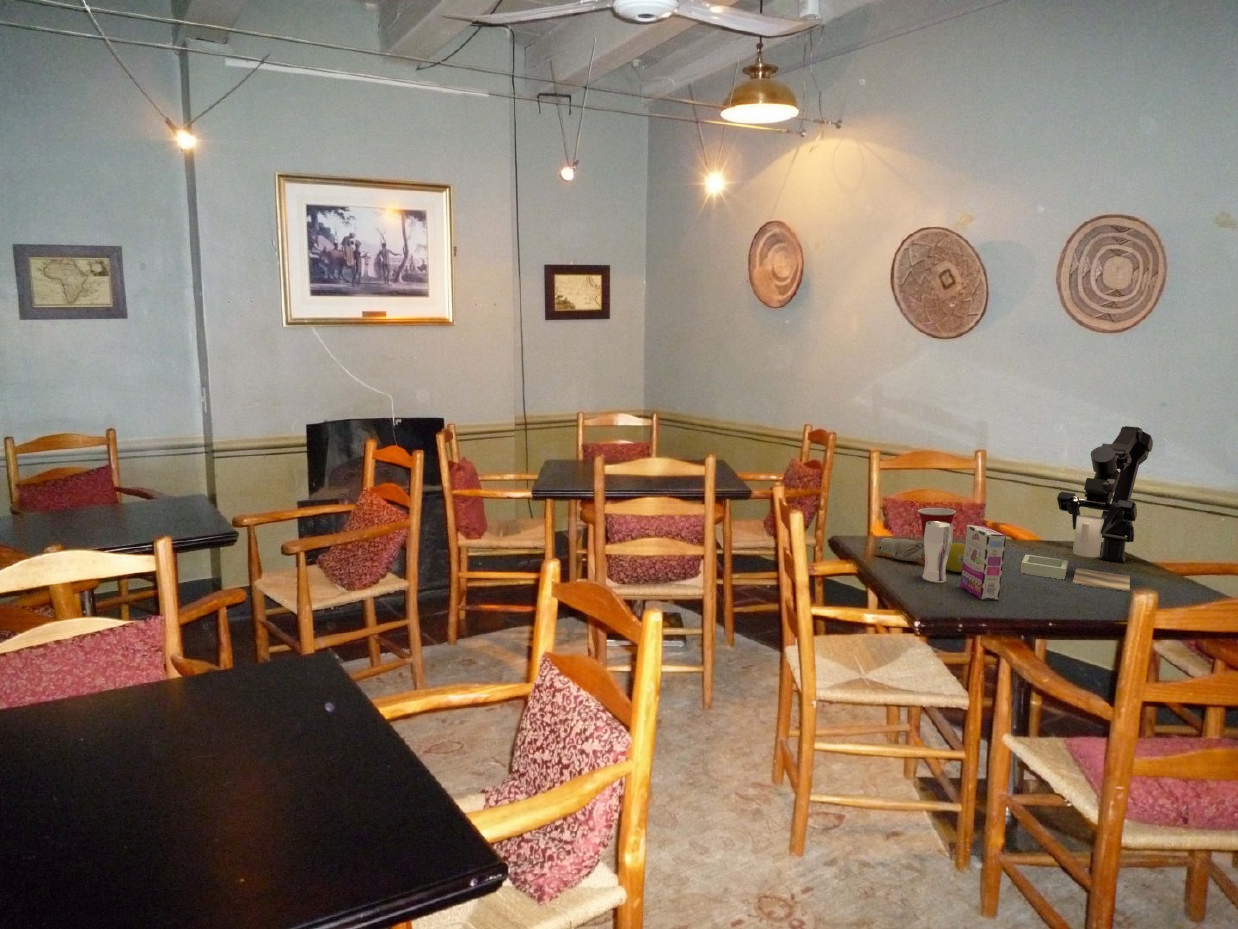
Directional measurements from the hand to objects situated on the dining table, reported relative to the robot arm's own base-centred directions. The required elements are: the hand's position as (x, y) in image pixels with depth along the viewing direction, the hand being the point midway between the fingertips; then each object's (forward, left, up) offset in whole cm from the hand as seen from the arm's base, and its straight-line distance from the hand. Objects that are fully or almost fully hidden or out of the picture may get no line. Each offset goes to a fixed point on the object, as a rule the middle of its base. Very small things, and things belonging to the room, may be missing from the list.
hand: (1087, 530), depth 230 cm
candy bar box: (+31, -21, -14) cm, 40 cm away
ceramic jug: (-1, 0, -7) cm, 7 cm away
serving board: (-2, +5, -13) cm, 14 cm away
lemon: (+13, -29, -14) cm, 35 cm away
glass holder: (-2, -9, -13) cm, 16 cm away
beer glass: (+25, -33, -14) cm, 44 cm away
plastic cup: (-10, -40, -14) cm, 44 cm away
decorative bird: (+11, -44, -14) cm, 48 cm away
